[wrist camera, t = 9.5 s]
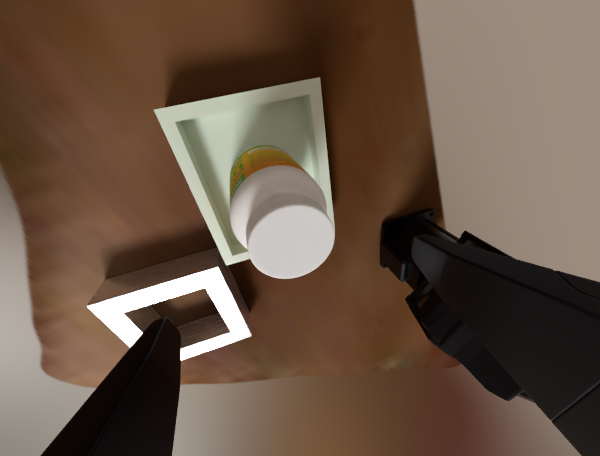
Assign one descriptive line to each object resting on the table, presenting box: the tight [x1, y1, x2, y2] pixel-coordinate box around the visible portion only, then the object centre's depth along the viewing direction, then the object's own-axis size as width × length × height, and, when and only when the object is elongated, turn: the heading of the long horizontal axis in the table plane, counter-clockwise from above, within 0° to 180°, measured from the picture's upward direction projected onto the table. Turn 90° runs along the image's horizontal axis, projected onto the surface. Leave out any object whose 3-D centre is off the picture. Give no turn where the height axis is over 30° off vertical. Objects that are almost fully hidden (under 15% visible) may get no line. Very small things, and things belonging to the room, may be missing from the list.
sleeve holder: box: [87, 247, 252, 360], centre depth 22 cm, size 10×10×3 cm
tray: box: [154, 77, 335, 266], centre depth 18 cm, size 10×12×2 cm
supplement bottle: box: [230, 144, 335, 279], centre depth 14 cm, size 5×5×10 cm
